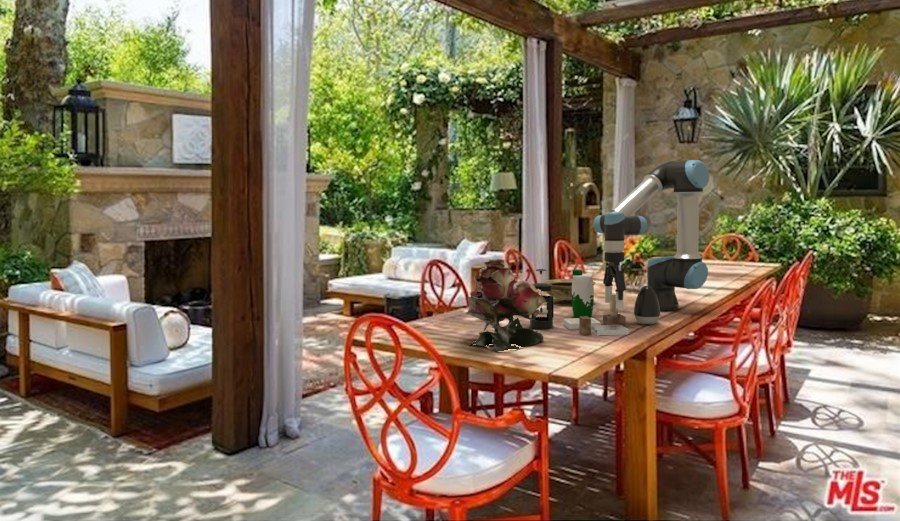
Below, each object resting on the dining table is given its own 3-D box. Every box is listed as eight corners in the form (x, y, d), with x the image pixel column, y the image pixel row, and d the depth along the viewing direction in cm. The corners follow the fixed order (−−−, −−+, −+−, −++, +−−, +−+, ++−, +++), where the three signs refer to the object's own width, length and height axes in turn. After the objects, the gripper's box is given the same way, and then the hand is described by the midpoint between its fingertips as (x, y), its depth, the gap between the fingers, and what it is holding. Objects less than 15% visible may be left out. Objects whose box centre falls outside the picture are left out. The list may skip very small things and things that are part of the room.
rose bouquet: (553, 339, 249) (552, 256, 246) (504, 355, 227) (503, 264, 224) (497, 331, 266) (496, 253, 263) (446, 344, 244) (445, 260, 241)
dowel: (616, 324, 272) (616, 294, 271) (619, 326, 269) (619, 296, 268) (609, 325, 272) (609, 295, 271) (611, 326, 269) (611, 296, 268)
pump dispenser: (660, 321, 277) (661, 284, 275) (659, 326, 267) (660, 287, 265) (634, 320, 280) (634, 283, 278) (632, 325, 270) (632, 287, 269)
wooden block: (587, 331, 260) (587, 316, 259) (590, 334, 255) (590, 318, 254) (579, 332, 260) (579, 316, 259) (583, 334, 255) (583, 319, 254)
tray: (592, 323, 275) (593, 317, 275) (600, 328, 265) (600, 322, 265) (563, 325, 274) (563, 318, 274) (569, 330, 264) (569, 323, 264)
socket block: (619, 323, 274) (619, 313, 274) (625, 327, 267) (625, 316, 267) (602, 324, 274) (602, 314, 273) (608, 327, 267) (608, 317, 266)
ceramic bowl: (573, 309, 308) (573, 287, 307) (530, 304, 324) (530, 283, 323) (608, 300, 329) (608, 280, 328) (566, 296, 346) (566, 276, 345)
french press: (541, 330, 264) (541, 271, 261) (523, 327, 271) (522, 269, 268) (561, 326, 271) (560, 268, 269) (543, 323, 279) (542, 266, 276)
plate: (620, 331, 263) (620, 324, 262) (628, 335, 254) (628, 329, 253) (590, 332, 262) (590, 325, 261) (596, 337, 253) (596, 330, 253)
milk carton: (572, 315, 295) (571, 268, 293) (593, 315, 293) (593, 268, 291) (571, 318, 286) (571, 271, 284) (593, 319, 284) (593, 271, 282)
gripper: (634, 254, 255) (634, 310, 257) (613, 248, 280) (613, 300, 282) (615, 254, 255) (614, 311, 257) (595, 249, 279) (595, 300, 282)
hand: (613, 305), depth 269 cm, fingers open, 13 cm apart
